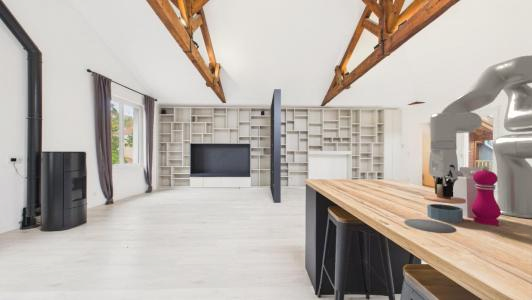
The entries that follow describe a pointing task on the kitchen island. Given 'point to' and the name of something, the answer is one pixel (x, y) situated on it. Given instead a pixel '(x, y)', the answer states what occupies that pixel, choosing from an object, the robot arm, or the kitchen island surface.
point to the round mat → (430, 226)
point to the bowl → (445, 213)
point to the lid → (444, 199)
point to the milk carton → (466, 189)
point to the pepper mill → (485, 198)
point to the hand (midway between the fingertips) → (443, 195)
